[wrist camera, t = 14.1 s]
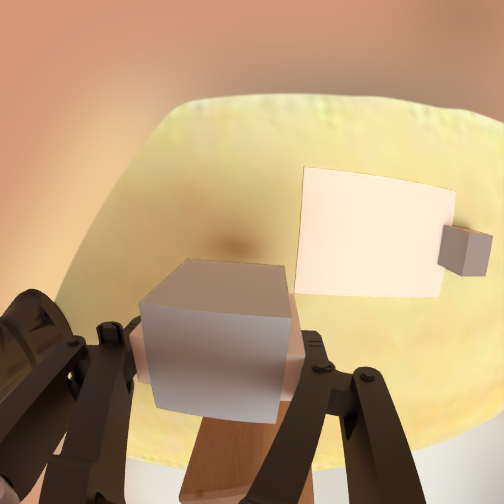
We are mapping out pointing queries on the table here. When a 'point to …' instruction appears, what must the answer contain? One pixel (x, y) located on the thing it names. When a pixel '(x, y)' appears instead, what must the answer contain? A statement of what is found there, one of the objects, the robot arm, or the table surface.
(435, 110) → the table surface
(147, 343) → the slate cube
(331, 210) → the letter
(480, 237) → the grey cube
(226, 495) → the wooden block
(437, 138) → the table surface
